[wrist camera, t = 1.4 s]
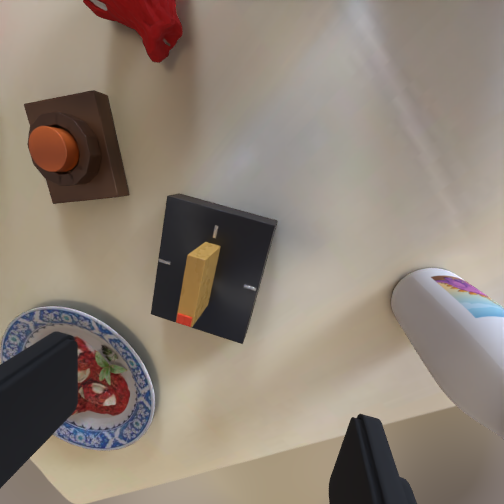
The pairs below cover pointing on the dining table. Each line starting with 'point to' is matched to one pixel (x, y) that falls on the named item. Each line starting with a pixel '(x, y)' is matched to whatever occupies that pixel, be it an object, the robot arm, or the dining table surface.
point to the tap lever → (197, 283)
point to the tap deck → (228, 265)
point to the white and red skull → (144, 22)
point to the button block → (82, 147)
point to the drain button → (53, 149)
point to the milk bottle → (456, 340)
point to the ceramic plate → (92, 377)
